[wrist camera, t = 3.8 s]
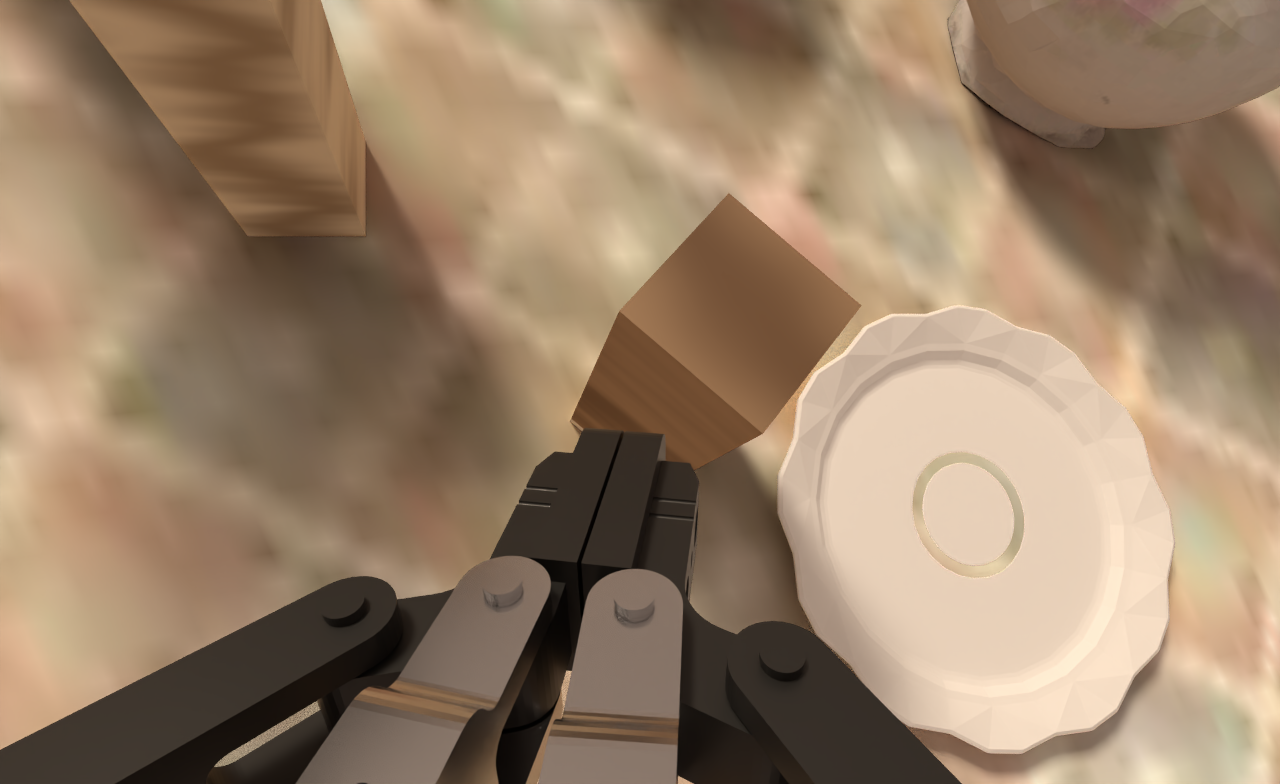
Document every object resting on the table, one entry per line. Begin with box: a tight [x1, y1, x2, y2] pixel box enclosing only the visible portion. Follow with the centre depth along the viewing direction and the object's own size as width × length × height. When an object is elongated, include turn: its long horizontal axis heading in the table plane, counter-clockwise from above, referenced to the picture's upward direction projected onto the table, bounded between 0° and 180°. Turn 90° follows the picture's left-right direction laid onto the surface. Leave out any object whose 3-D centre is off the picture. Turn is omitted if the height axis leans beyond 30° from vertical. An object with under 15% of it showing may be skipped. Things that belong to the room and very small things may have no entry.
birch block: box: [69, 0, 366, 236], centre depth 25 cm, size 5×5×14 cm
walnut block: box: [570, 194, 861, 470], centre depth 26 cm, size 5×5×14 cm
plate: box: [777, 305, 1175, 754], centre depth 34 cm, size 21×21×2 cm
